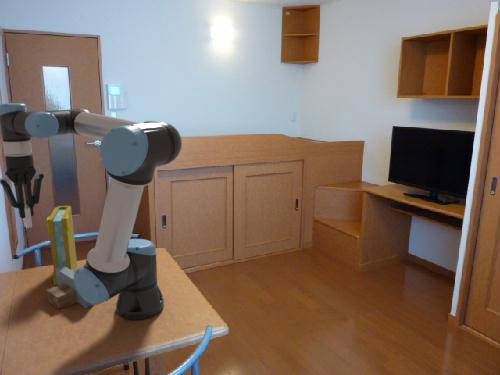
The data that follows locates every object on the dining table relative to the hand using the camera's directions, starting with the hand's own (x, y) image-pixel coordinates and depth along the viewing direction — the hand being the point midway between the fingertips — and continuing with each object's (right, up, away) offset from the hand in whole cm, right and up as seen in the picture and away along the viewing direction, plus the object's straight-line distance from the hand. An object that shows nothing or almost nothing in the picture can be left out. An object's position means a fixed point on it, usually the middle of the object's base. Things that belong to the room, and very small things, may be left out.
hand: (28, 226), depth 130 cm
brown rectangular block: (+8, -26, +6) cm, 28 cm away
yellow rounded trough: (+1, -21, +26) cm, 33 cm away
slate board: (+11, -25, +9) cm, 29 cm away
